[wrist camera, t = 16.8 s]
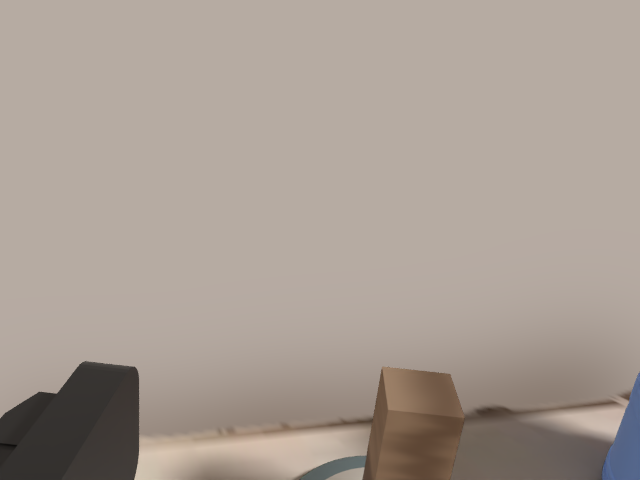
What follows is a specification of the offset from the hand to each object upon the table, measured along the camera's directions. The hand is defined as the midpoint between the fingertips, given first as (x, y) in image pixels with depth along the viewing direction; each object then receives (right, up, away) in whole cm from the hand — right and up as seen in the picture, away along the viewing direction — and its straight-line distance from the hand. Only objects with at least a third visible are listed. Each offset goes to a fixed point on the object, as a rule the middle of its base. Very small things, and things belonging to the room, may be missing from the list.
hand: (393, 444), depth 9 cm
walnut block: (+4, -17, +31) cm, 36 cm away
